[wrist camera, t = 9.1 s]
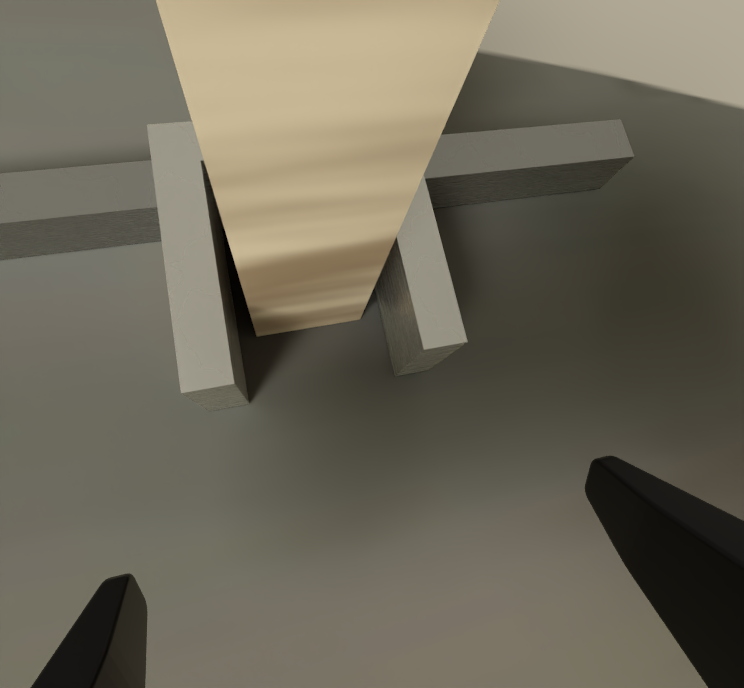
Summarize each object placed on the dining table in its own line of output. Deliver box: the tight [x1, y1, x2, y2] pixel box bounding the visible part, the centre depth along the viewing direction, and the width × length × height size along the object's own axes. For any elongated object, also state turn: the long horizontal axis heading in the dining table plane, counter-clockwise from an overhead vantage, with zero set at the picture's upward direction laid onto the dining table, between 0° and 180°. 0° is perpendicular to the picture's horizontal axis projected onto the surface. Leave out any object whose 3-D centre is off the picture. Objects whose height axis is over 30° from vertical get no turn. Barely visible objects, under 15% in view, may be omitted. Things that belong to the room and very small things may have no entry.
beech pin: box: [156, 0, 500, 337], centre depth 12 cm, size 4×4×14 cm
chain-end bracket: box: [0, 119, 635, 411], centre depth 17 cm, size 9×28×4 cm, turn 102°
